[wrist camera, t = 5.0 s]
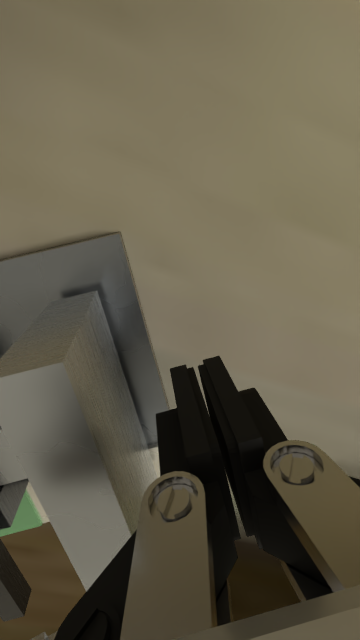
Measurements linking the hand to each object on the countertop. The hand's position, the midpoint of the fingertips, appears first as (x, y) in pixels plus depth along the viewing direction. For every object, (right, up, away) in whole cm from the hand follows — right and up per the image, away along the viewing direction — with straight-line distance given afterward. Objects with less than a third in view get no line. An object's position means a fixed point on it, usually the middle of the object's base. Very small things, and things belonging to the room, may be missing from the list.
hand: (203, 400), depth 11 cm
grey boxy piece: (-7, -2, +1) cm, 7 cm away
